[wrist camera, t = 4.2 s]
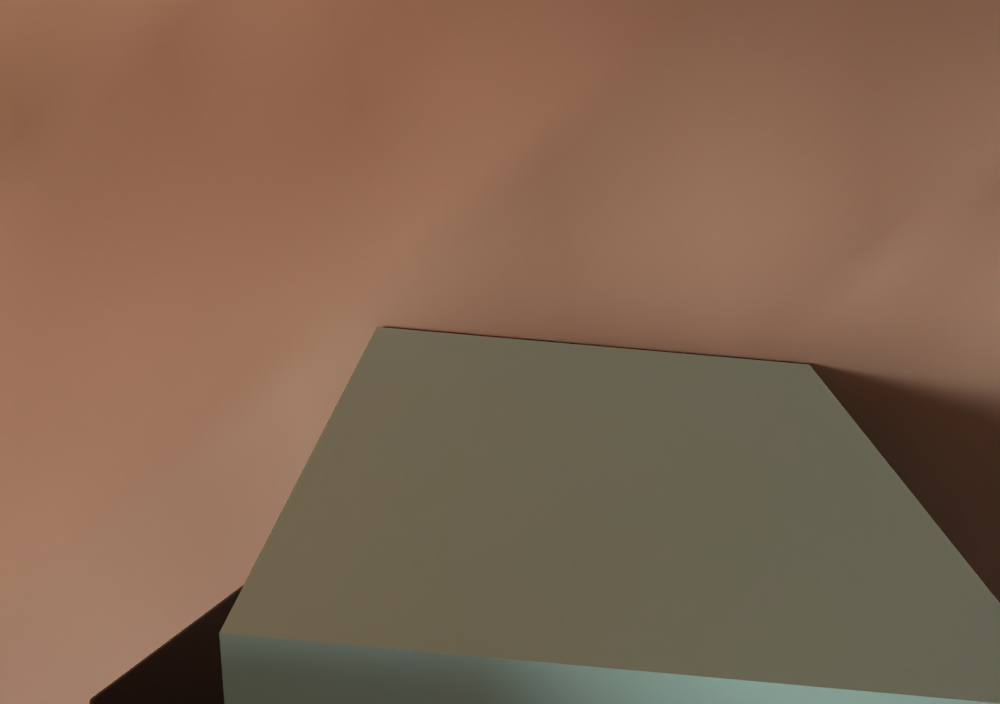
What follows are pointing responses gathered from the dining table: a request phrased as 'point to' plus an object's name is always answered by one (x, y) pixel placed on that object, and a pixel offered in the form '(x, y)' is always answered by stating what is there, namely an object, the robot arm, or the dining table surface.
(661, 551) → the sage cube
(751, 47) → the dining table surface
